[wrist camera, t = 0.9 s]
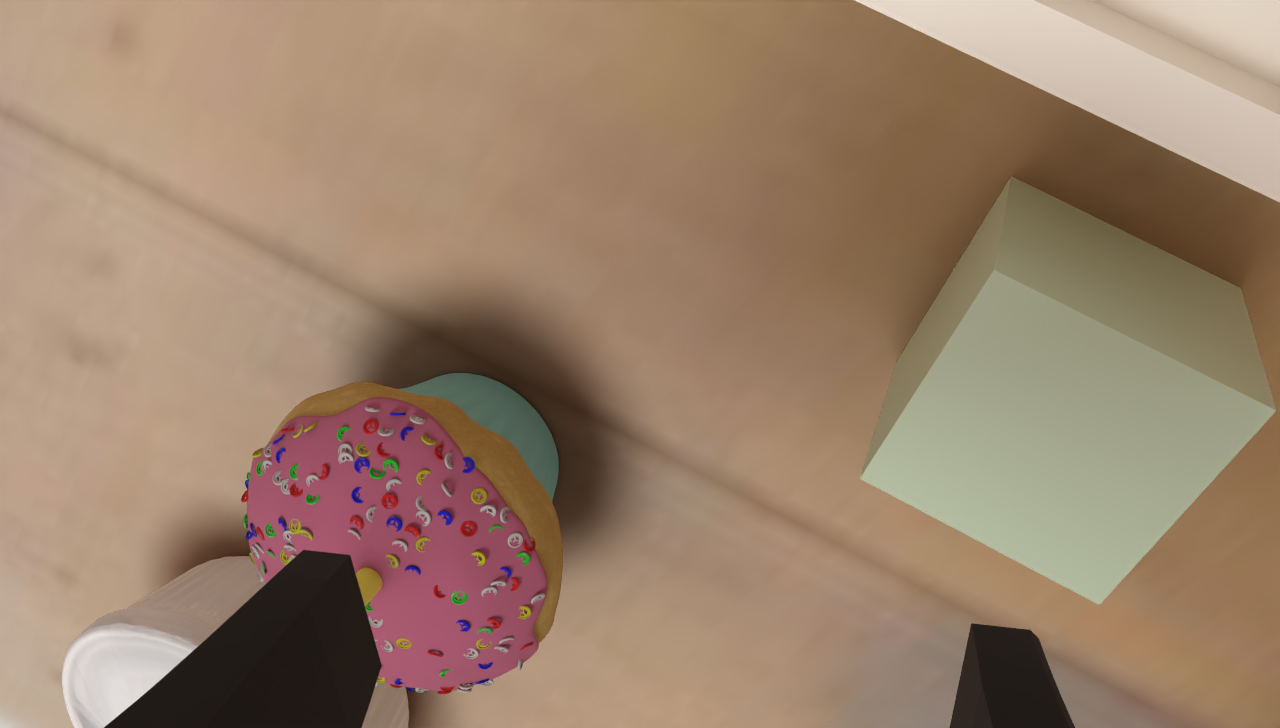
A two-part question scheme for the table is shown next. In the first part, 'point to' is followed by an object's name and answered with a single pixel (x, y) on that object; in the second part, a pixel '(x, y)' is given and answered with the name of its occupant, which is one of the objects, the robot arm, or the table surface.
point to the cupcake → (421, 519)
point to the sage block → (1068, 393)
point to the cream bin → (1137, 67)
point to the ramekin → (173, 645)
